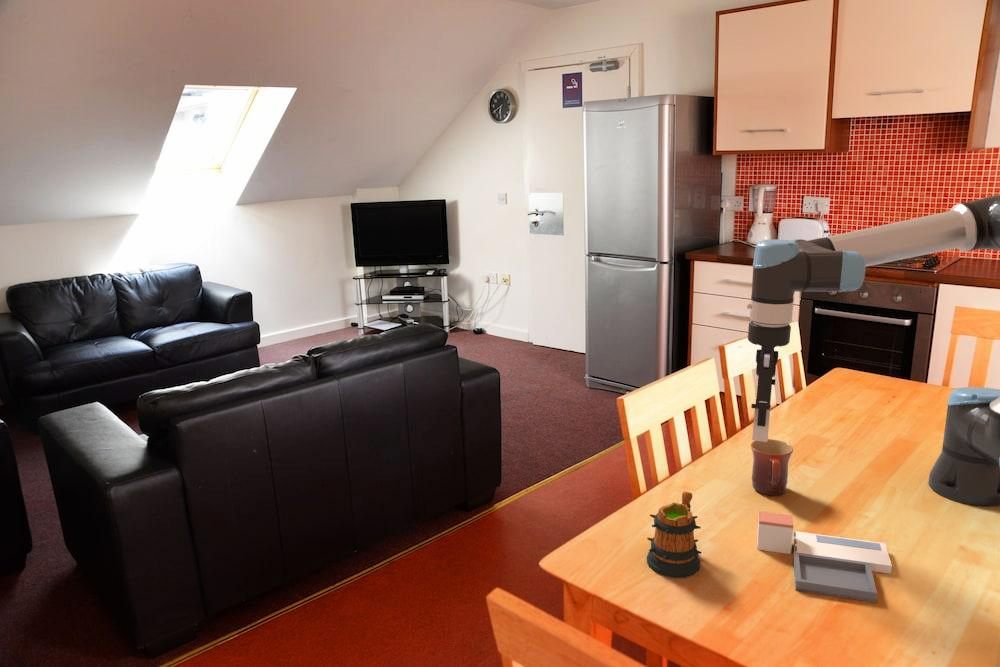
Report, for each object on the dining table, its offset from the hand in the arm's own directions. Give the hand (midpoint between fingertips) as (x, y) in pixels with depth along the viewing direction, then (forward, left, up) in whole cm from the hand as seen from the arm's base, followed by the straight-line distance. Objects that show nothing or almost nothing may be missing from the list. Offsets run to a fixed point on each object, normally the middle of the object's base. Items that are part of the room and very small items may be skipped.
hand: (761, 427), depth 146 cm
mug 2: (-3, -15, -21) cm, 26 cm away
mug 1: (+14, +18, -21) cm, 31 cm away
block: (-4, +8, -21) cm, 23 cm away
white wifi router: (-15, +8, -21) cm, 27 cm away
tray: (-13, +17, -21) cm, 30 cm away
